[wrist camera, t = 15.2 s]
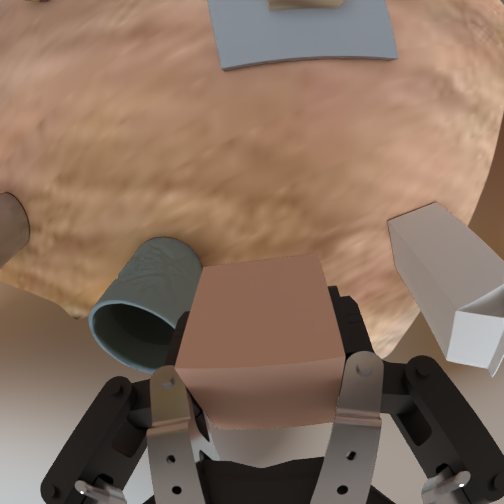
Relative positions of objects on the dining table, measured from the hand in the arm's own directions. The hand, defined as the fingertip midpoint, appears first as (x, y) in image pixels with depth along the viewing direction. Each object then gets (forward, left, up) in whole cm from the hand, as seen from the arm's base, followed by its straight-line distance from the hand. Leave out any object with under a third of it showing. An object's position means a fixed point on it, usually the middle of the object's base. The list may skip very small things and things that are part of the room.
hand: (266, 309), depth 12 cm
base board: (+6, +20, -17) cm, 27 cm away
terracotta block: (0, 0, 0) cm, 0 cm away
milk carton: (+17, -8, -18) cm, 26 cm away
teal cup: (-13, -8, -18) cm, 23 cm away
